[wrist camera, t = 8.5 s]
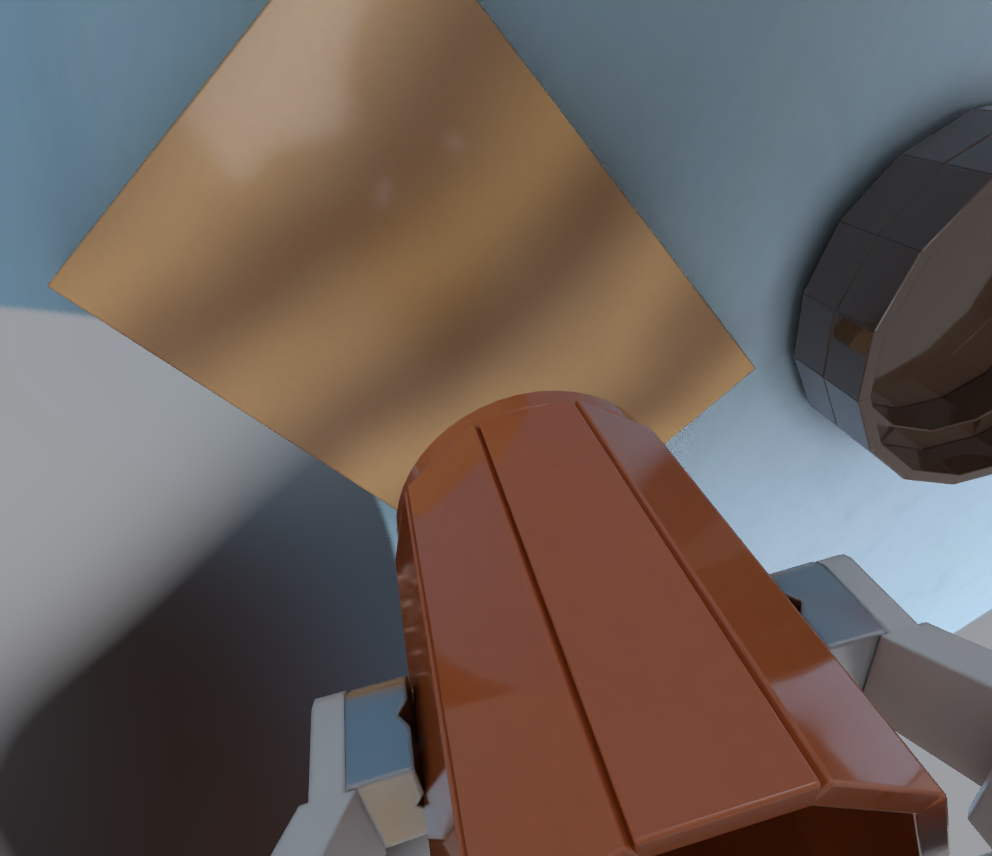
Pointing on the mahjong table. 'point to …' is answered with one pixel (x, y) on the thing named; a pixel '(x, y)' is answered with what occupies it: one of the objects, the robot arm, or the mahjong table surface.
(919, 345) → the bowl
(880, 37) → the mahjong table surface
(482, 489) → the terracotta cup
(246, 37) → the bamboo board
